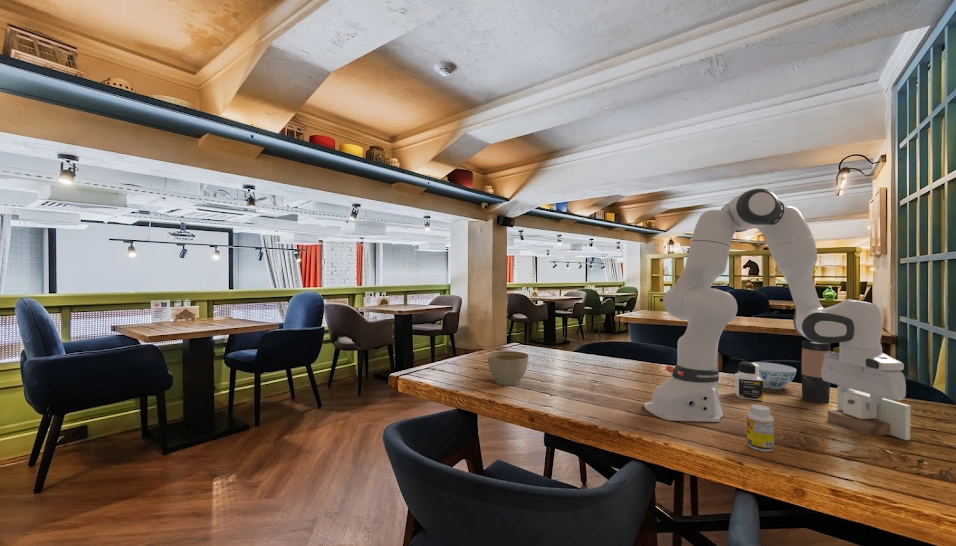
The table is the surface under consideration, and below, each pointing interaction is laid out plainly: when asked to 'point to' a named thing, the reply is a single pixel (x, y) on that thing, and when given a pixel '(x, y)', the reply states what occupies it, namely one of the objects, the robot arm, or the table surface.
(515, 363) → the planter bowl
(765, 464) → the table surface
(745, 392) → the medicine bottle
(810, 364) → the travel mug
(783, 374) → the chinaware
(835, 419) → the cleat ledge
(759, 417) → the supplement bottle
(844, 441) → the table surface
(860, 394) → the cabinet block
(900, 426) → the wall board
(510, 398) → the table surface
